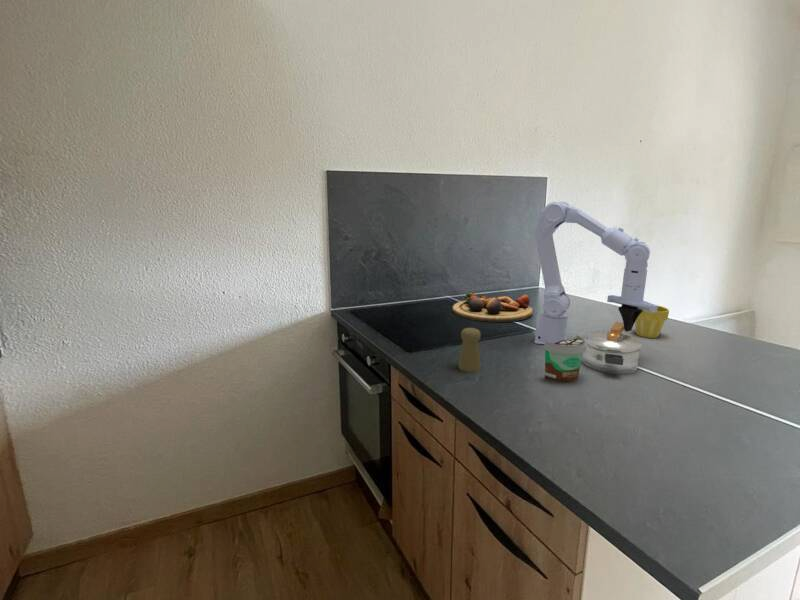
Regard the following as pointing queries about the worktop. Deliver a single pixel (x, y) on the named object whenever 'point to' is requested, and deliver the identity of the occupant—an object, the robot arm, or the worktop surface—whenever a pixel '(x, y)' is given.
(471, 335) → the cork
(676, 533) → the worktop surface
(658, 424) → the worktop surface
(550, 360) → the food container
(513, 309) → the wooden plate with food
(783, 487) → the worktop surface
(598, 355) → the cooker pot
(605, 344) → the lid
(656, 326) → the plant pot
